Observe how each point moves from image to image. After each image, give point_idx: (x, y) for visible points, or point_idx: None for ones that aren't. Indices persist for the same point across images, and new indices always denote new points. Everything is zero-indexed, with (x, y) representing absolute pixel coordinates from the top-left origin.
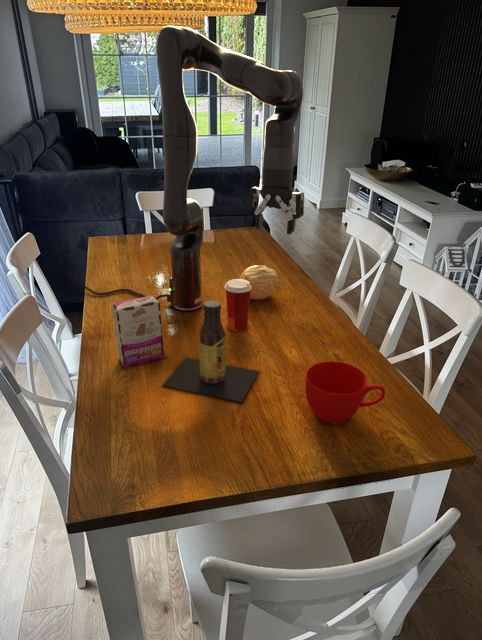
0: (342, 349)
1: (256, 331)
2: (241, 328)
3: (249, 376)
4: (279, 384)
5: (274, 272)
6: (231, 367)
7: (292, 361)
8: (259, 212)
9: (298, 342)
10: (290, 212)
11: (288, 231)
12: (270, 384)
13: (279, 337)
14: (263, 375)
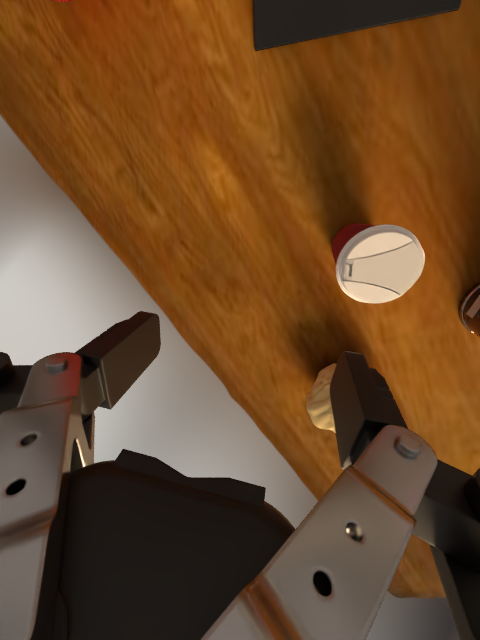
0: (149, 233)
1: (308, 240)
2: (341, 229)
3: (267, 6)
4: (200, 21)
5: (314, 418)
6: (320, 27)
7: (208, 144)
8: (374, 444)
9: (221, 228)
10: (22, 399)
11: (138, 317)
12: (217, 8)
13: (259, 233)
14: (242, 44)
